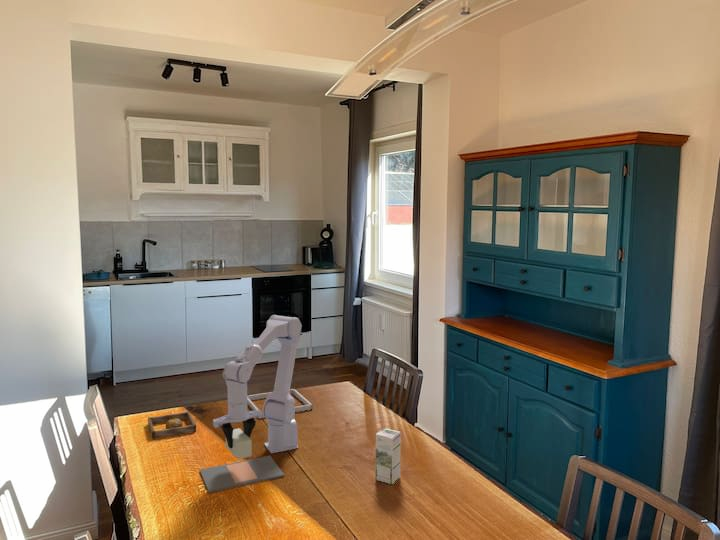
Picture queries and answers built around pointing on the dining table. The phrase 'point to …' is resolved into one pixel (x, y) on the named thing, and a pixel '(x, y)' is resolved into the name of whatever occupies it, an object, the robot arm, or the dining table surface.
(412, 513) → the dining table surface
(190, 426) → the fruit rim
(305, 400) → the box rim
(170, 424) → the fruit
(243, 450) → the block
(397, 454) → the syrup box
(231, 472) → the mat
